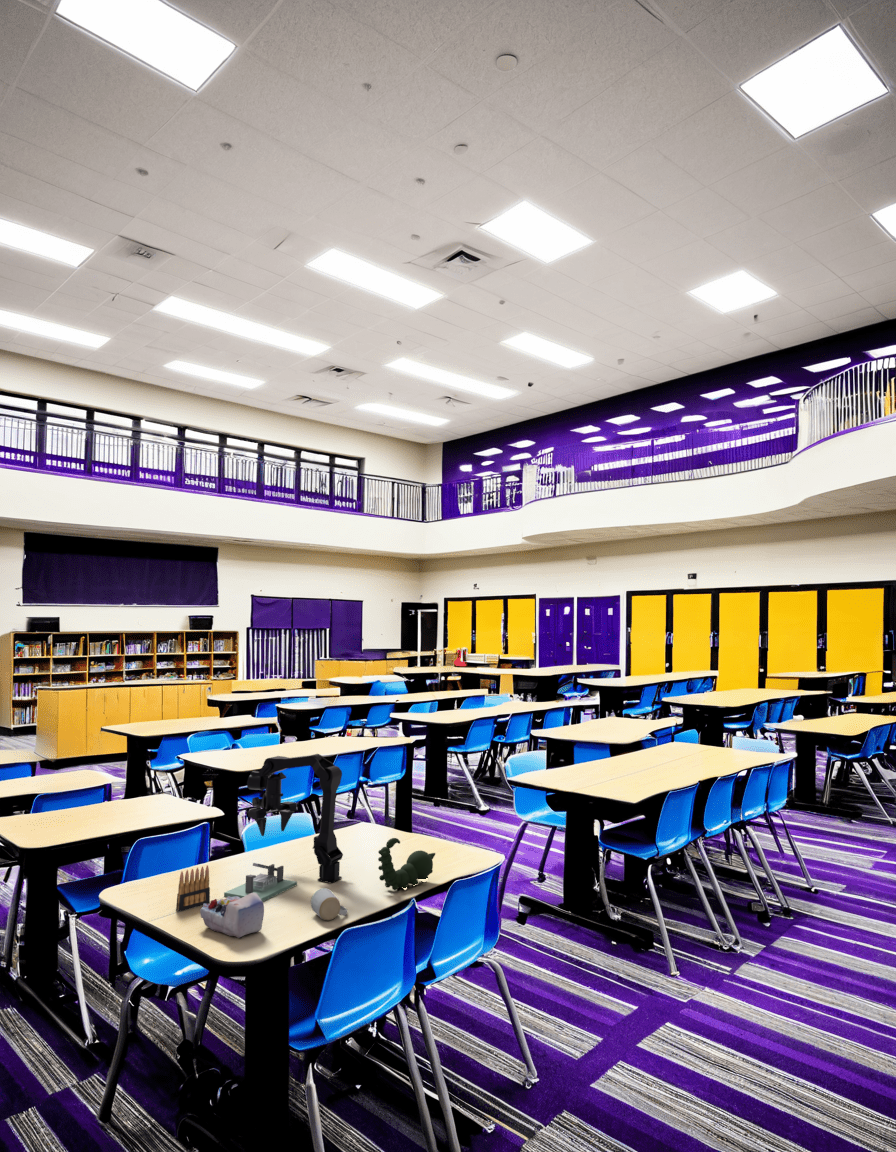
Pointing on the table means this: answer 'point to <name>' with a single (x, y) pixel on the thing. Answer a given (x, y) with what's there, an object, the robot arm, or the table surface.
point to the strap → (264, 866)
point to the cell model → (234, 915)
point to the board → (265, 894)
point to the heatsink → (264, 882)
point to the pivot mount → (279, 872)
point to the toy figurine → (404, 867)
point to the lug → (249, 883)
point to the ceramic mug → (326, 904)
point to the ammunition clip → (193, 890)
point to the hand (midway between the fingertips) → (272, 833)
